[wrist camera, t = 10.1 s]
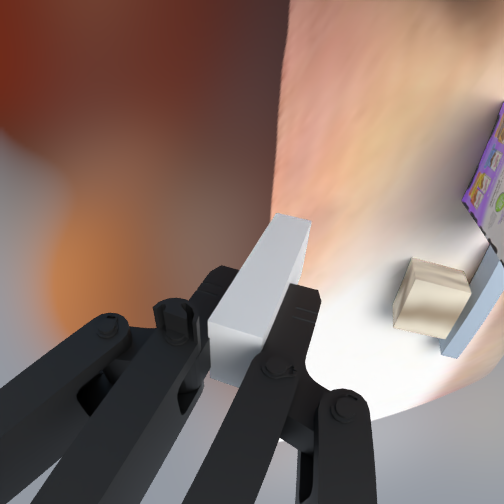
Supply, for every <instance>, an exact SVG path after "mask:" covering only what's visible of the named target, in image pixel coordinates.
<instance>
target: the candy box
mask: <svg viewBox="0 0 504 504" xmlns="http://www.w3.org/2000/svg"><path fill="white" fill-rule="evenodd" d="M461 201H462V203H463V204H464V206H465V207H466V209H467V210H468V211H469V213H470V214H471V216H472V217H473V219H474V220H475V221H476V223H477V224H478V226H479V228H480V229H481V231H482V232H483V234H484V235H485V237H486V239H487V240H488V242H489V243H490V245H491V247H492V248H493V250H494V252H495V253H496V255H497V257H498V258H499V260H500V262H501V263H502V265H503V267H504V102H503V105H502V107H501V110H500V112H499V115H498V118H497V121H496V124H495V126H494V128H493V131H492V134H491V136H490V139H489V141H488V144H487V146H486V148H485V151H484V153H483V156H482V158H481V161H480V163H479V165H478V167H477V169H476V172H475V174H474V176H473V178H472V181H471V183H470V185H469V187H468V189H467V191H466V193H465V195H464V197H463V199H462V200H461Z"/></svg>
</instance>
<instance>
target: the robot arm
mask: <svg viewBox="0 0 504 504" xmlns="http://www.w3.org/2000/svg"><path fill="white" fill-rule="evenodd" d="M311 222H312V221H310V220H305V219H301V218H297V217H293V216H288V215H284V214H280V213H276V214H275V216H274V217H273V219H272V221H271V222H270V224H269V225H268V227H267V228H266V230H265V232H264V233H263V235H262V236H261V238H260V239H259V241H258V243H257V244H256V246H255V248H254V249H253V250H252V252H251V253H250V255H249V257H248V258H247V260H246V261H245V263H244V264H243V266H242V268H241V269H240V270H237V269H233V268H229V267H226V266H219V267H218V268H216V269H214V270H212V271H211V272H210V273H209V274H208V275H207V277H206V278H205V279H204V281H203V283H201V285H200V286H199V287H198V289H197V291H195V293H194V294H193V295H192V297H191V298H190V299H189V301H188V300H186V299H181V298H169V299H166V300H163V301H160V302H158V303H157V304H156V305H155V306H154V307H153V311H154V316H155V322H156V327H157V328H139V327H130V326H129V324H128V321H127V320H126V319H125V318H124V317H123V316H121V315H119V314H116V313H106V314H101V315H99V316H98V317H96V318H94V319H93V320H91V321H90V322H89V323H87V324H86V325H84V326H83V327H82V328H80V329H79V330H77V331H76V332H75V333H73V334H72V335H71V336H69V337H68V338H66V339H65V340H64V341H62V342H61V343H60V344H58V345H57V346H56V347H55V348H53V349H52V350H50V351H49V352H48V353H46V354H45V355H44V356H42V357H41V358H40V359H38V360H37V361H36V362H34V363H33V364H32V365H30V366H29V367H28V368H26V369H25V370H24V371H22V372H21V373H20V374H19V375H17V376H16V377H15V378H14V379H12V380H11V381H9V382H8V383H7V384H6V385H4V386H3V387H2V388H1V389H0V504H6V503H7V502H9V501H10V500H11V499H12V498H13V497H15V496H16V495H17V494H19V493H20V492H21V491H22V490H23V489H25V488H26V487H27V486H28V485H29V484H30V483H32V482H33V481H34V480H35V479H37V478H38V477H39V476H40V475H41V474H42V473H44V472H45V471H46V470H47V469H48V468H49V467H51V466H52V465H53V464H54V463H55V462H57V461H58V460H59V459H60V458H61V457H62V456H63V457H62V458H61V459H60V461H59V462H58V464H57V465H56V467H55V468H54V470H53V471H52V472H51V474H50V475H49V477H48V478H47V480H46V481H45V483H44V484H43V486H42V487H41V489H40V490H39V492H38V493H37V495H36V496H35V497H34V499H33V500H32V502H31V503H30V504H140V502H141V500H142V499H143V497H144V495H145V494H146V492H147V490H148V488H149V487H150V485H151V483H152V481H153V480H154V478H155V476H156V474H157V473H158V471H159V469H160V467H161V466H162V464H163V462H164V460H165V458H166V457H167V455H168V453H169V451H170V450H171V448H172V446H173V444H174V442H175V441H176V439H177V437H178V435H179V433H180V432H181V430H182V428H183V426H184V424H185V423H186V421H187V419H188V417H189V415H190V414H191V412H192V410H193V408H194V406H195V404H196V402H197V401H198V399H199V397H200V395H201V393H202V391H203V388H204V378H205V377H206V375H207V373H208V371H209V370H210V378H212V379H215V380H218V381H221V382H224V383H226V384H229V385H232V386H235V387H238V388H239V390H238V392H237V394H236V396H235V398H234V400H233V402H232V404H231V406H230V408H229V411H228V413H227V415H226V417H225V419H224V421H223V423H222V425H221V427H220V429H219V431H218V433H217V435H216V438H215V439H214V441H213V443H212V445H211V447H210V449H209V452H208V454H207V456H206V457H205V459H204V461H203V463H202V465H201V467H200V469H199V471H198V473H197V475H196V477H195V479H194V481H193V483H192V485H191V487H190V489H189V491H188V493H187V495H186V496H185V498H184V500H183V502H182V504H254V502H255V500H256V498H257V495H258V493H259V490H260V488H261V485H262V483H263V480H264V478H265V475H266V472H267V470H268V467H269V465H270V462H271V459H272V457H273V454H274V451H275V448H276V446H277V443H278V441H279V438H281V439H283V440H284V441H286V442H287V443H289V444H290V445H292V446H293V447H295V448H296V449H298V459H297V481H296V501H295V504H377V492H376V475H375V462H374V449H373V439H372V430H371V420H370V411H369V408H368V405H367V402H366V401H365V400H364V399H363V397H362V396H361V395H359V394H358V393H356V392H354V391H352V390H348V389H336V390H332V391H329V390H328V389H326V388H324V387H322V386H321V385H319V384H318V383H317V382H315V381H314V380H313V379H312V378H311V377H310V375H309V374H308V372H307V370H306V366H305V359H306V355H307V351H308V348H309V344H310V341H311V337H312V334H313V330H314V327H315V323H316V320H317V316H318V312H319V308H320V305H321V299H320V295H319V292H318V290H315V289H311V288H307V287H304V286H300V285H297V284H298V281H299V279H300V276H301V273H302V268H303V263H304V258H305V253H306V248H307V243H308V238H309V232H310V227H311Z"/></svg>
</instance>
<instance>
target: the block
mask: <svg viewBox="0 0 504 504" xmlns="http://www.w3.org/2000/svg"><path fill="white" fill-rule="evenodd" d="M471 294H472V293H471V290H470V287H469V284H468V281H467V279H466V276H465V273H464V271H461V270H457V269H453V268H450V267H446V266H442V265H439V264H435V263H431V262H427V261H424V260H420V259H416V258H411V261H410V263H409V266H408V269H407V271H406V274H405V276H404V279H403V281H402V284H401V286H400V288H399V291H398V293H397V295H396V298H395V300H394V302H393V328H395V329H400V330H404V331H408V332H413V333H418V334H422V335H427V336H431V337H436V338H441V339H446V337H447V336H448V334H449V332H450V331H451V329H452V327H453V326H454V324H455V322H456V321H457V319H458V317H459V316H460V314H461V312H462V310H463V308H464V307H465V305H466V303H467V301H468V299H469V297H470V296H471Z"/></svg>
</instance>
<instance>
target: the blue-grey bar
mask: <svg viewBox="0 0 504 504" xmlns="http://www.w3.org/2000/svg"><path fill="white" fill-rule="evenodd" d="M469 287H470V290H471V293H472V294H471V296H470V297H469V299H468V301H467V303H466V305H465V307H464V308H463V310H462V312H461V314H460V316H459V317H458V319H457V321H456V322H455V324H454V326H453V327H452V329H451V331H450V332H449V334H448V336H447V337H446V339H441V338H439V343H440V351H441V355H443V356H448V357H452V358H456V359H457V358H458V357H459V356H460V354H461V353H462V352H463V350H464V349H465V348H466V346H467V345H468V343H469V342H470V341H471V339H472V338H473V336H474V335H475V334H476V332H477V331H478V329H479V328H480V326H481V325H482V323H483V322H484V320H485V319H486V317H487V316H488V314H489V313H490V311H491V310H492V308H493V307H494V305H495V303H496V302H497V300H498V299H499V297H500V295H501V294H502V292H503V290H504V267H503V265H502V263H501V262H500V260H499V258H498V257H497V255H496V253H495V252H494V250H493V248H492V247H491V245H490V246H489V248H488V250H487V252H486V254H485V256H484V258H483V260H482V262H481V264H480V266H479V268H478V270H477V271H476V273H475V275H474V277H473V279H472V281H471V283H470V284H469Z"/></svg>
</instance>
